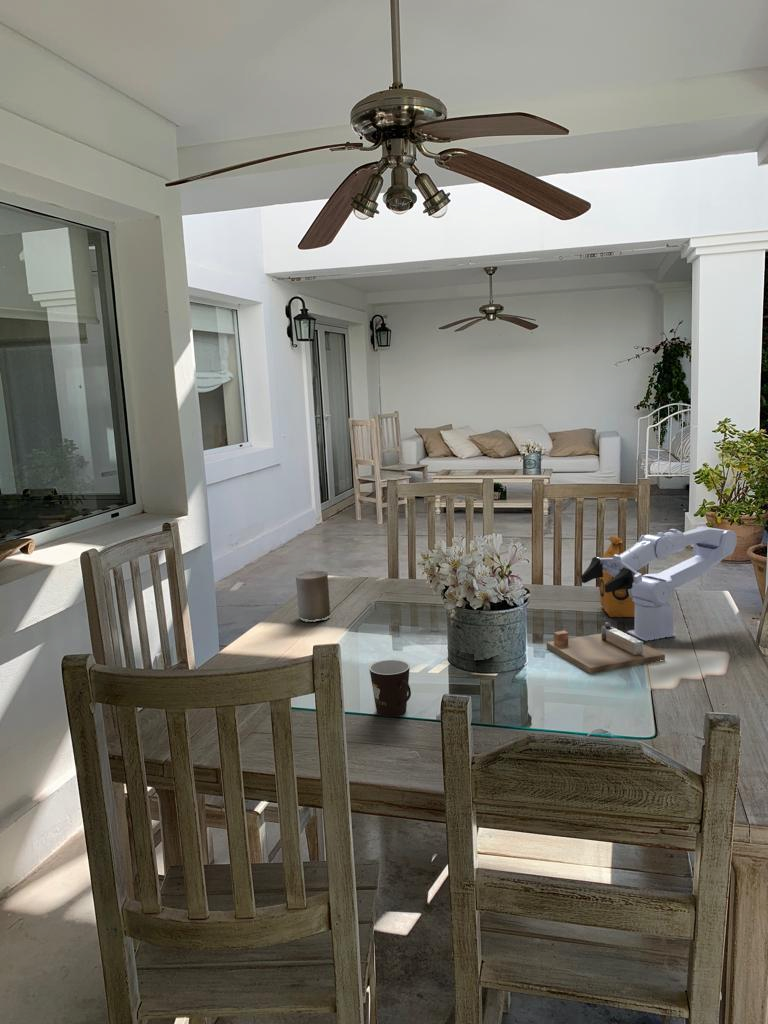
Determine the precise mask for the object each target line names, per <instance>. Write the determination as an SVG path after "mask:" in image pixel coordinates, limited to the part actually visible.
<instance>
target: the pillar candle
mask: <svg viewBox="0 0 768 1024" xmlns="http://www.w3.org/2000/svg"><path fill="white" fill-rule="evenodd" d="M328 575H329V574H328V572H326V571H323V570H308V571H302V572H299V573H297V574H296V575H295V582H296V583H295V584H296V594H297V595H296V597H297V607H298V609H297V611H298V618H299V617H301V618H303V619H308V620H315V619H322V618H325V617H327V616H329V615H331V605H330V604H331V603H330V602H331V601H330V591H329V589H330V588H329V578H328V577H329V576H328Z"/></svg>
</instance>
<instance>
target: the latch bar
mask: <svg viewBox="0 0 768 1024" xmlns="http://www.w3.org/2000/svg"><path fill="white" fill-rule="evenodd" d="M600 633H601V639H602V640H606V641H608V642H610V643H612V644H614V645H616V646H618V647H620V648H622V649H624V650H626V651H628V652H630V653H632V654H634V655H639V654H643V644H644V640H641V639H639V638H637V637H635V636H633V635H631V634H629V633H628V634H627V633H626V632H623V631H622V630H619V629H617V628H615V626H614V625H611V622H609V621H605V622H604V625H602V626H601V632H600Z"/></svg>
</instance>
